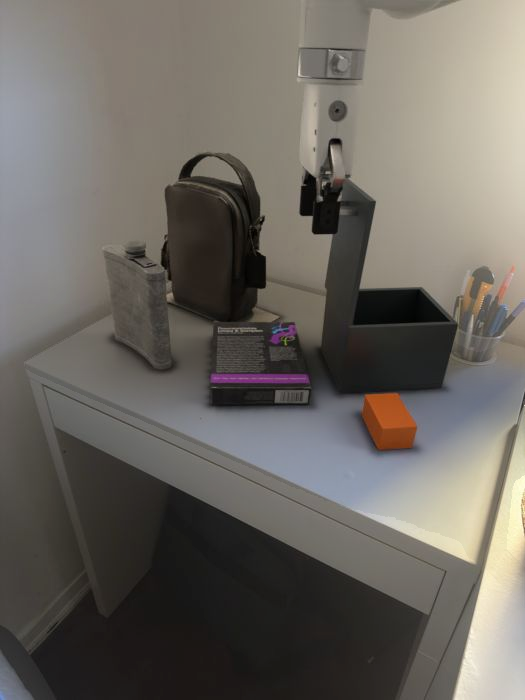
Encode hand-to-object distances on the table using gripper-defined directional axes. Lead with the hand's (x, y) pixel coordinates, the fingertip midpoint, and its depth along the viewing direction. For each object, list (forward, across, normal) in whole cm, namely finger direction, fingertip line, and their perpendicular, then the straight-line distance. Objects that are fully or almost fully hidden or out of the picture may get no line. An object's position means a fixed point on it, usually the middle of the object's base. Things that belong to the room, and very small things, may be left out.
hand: (317, 223), depth 65 cm
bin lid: (+4, 0, -5) cm, 6 cm away
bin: (+23, 0, -12) cm, 26 cm away
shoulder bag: (+23, +23, +12) cm, 35 cm away
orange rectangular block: (+23, -15, -8) cm, 29 cm away
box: (+23, +2, +7) cm, 25 cm away
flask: (+23, +8, +25) cm, 35 cm away
